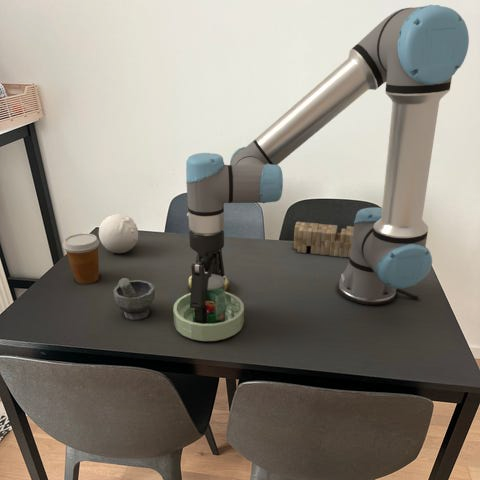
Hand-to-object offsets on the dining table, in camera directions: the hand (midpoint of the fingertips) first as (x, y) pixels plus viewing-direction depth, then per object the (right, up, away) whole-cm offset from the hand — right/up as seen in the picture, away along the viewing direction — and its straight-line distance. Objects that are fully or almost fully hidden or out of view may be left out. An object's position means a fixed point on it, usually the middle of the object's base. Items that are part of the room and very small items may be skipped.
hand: (209, 317), depth 112 cm
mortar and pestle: (-19, +1, +5) cm, 19 cm away
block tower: (+39, +21, +39) cm, 59 cm away
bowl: (0, -2, +1) cm, 2 cm away
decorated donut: (-1, +8, +16) cm, 18 cm away
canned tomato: (0, -1, +1) cm, 1 cm away
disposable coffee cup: (-36, +11, +21) cm, 43 cm away
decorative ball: (-31, +21, +37) cm, 53 cm away
